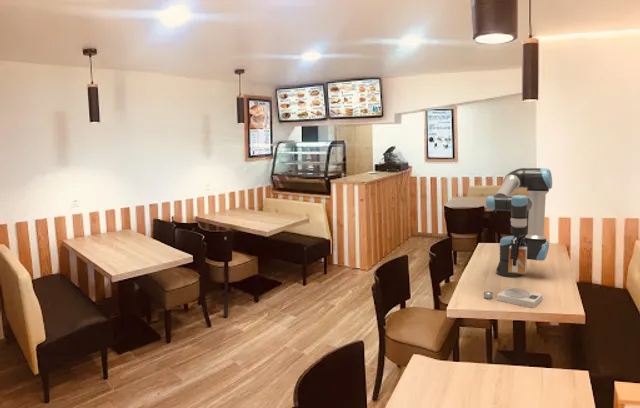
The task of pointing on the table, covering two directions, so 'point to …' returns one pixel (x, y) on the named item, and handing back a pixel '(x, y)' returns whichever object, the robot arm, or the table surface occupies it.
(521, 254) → the small box
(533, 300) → the scale
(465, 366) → the table surface
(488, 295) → the spacer
